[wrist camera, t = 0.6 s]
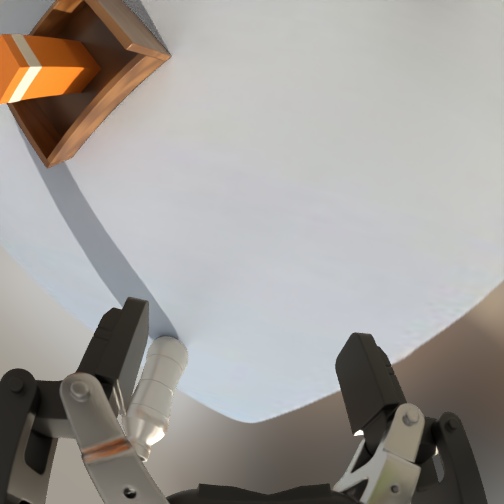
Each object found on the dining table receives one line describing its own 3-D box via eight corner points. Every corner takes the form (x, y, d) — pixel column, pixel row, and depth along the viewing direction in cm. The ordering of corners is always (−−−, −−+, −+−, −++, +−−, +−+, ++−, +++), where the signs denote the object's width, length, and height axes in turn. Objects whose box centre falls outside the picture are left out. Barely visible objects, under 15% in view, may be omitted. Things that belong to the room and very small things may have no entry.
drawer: (105, -18, 18) (62, -38, 11) (171, 56, 24) (133, 42, 16) (21, 82, 24) (-26, 89, 17) (71, 158, 30) (24, 179, 22)
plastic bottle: (193, 337, 42) (158, 456, 25) (189, 363, 46) (158, 470, 28) (153, 325, 42) (104, 437, 24) (152, 352, 45) (112, 454, 28)
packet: (81, 40, 22) (1, 33, 11) (102, 68, 24) (20, 67, 13) (60, 65, 24) (-19, 69, 12) (80, 93, 26) (-2, 105, 14)
